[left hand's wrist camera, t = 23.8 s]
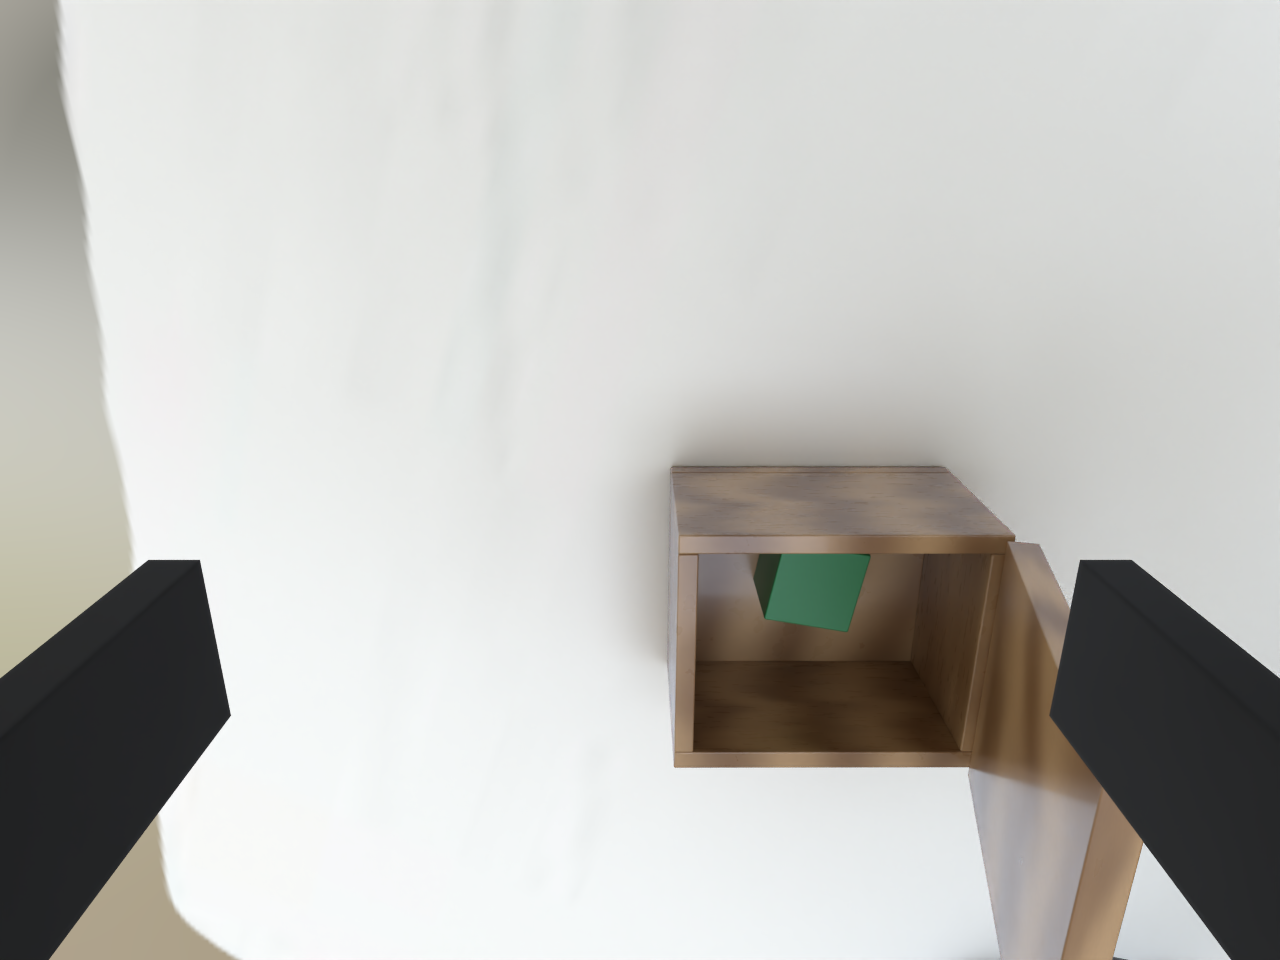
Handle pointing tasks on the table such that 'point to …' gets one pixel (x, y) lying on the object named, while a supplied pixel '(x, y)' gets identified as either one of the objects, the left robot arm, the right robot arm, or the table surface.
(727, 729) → the chest
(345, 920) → the table surface
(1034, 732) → the lid
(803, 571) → the block
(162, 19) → the table surface
